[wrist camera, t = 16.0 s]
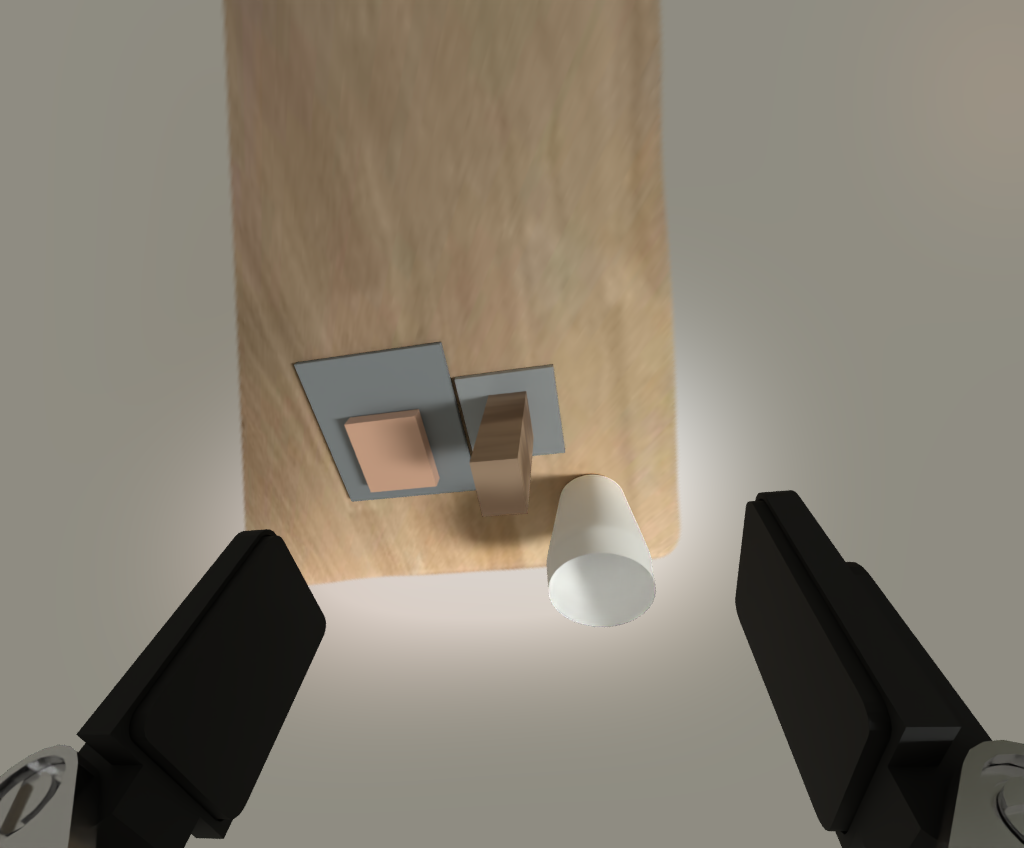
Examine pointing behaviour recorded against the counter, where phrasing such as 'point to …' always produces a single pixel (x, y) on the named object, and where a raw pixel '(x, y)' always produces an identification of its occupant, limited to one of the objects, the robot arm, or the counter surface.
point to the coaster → (530, 379)
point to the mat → (389, 410)
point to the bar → (503, 455)
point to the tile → (393, 450)
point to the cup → (598, 556)
